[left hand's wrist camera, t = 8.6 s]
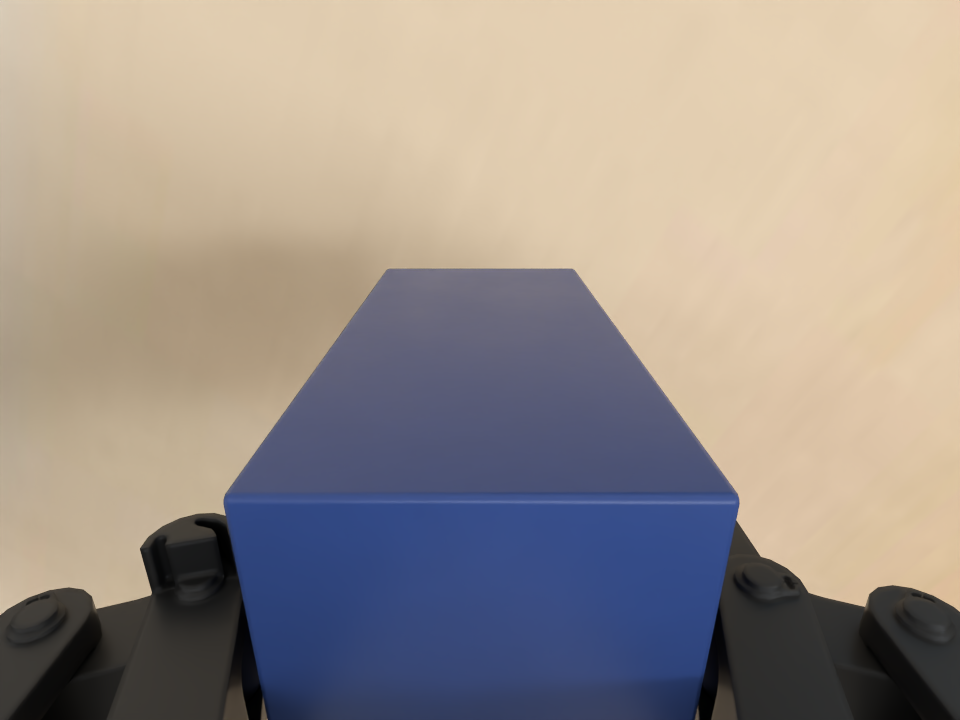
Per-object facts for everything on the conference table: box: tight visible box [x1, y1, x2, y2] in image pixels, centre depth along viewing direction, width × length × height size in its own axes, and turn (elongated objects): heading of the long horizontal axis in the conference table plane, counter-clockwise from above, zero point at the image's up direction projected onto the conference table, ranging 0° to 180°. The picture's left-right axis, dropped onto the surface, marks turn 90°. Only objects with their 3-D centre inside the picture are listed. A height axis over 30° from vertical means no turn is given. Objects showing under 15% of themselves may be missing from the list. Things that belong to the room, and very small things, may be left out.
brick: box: [224, 269, 739, 720], centre depth 12 cm, size 5×7×11 cm
